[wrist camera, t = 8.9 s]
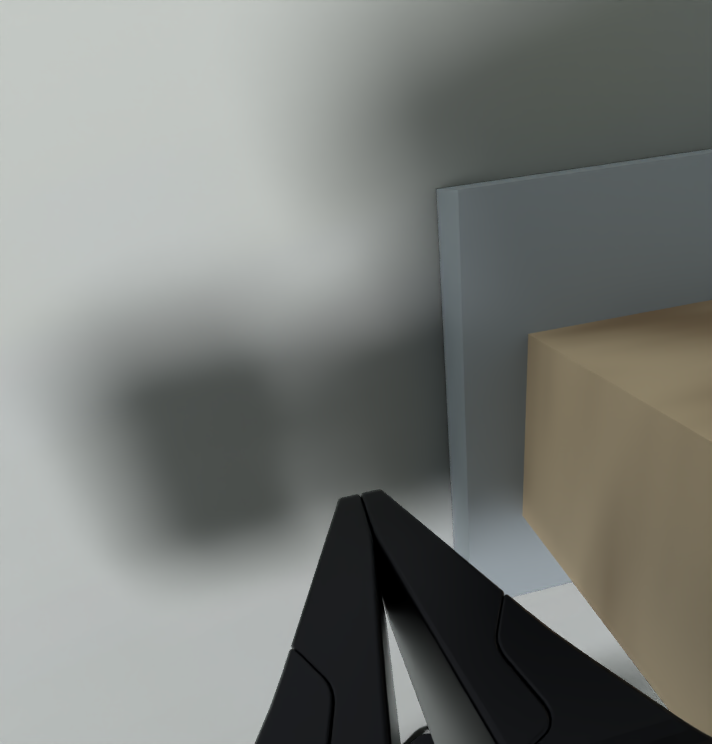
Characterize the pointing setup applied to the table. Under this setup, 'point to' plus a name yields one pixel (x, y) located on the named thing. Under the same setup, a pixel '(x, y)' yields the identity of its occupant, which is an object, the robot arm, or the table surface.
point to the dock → (549, 316)
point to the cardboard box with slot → (631, 485)
